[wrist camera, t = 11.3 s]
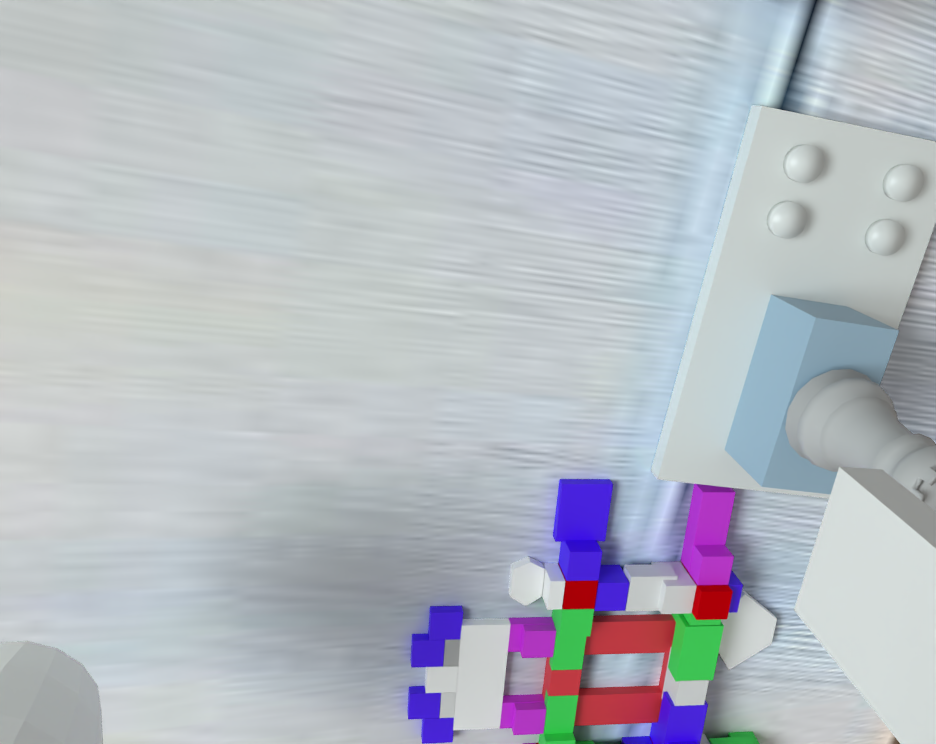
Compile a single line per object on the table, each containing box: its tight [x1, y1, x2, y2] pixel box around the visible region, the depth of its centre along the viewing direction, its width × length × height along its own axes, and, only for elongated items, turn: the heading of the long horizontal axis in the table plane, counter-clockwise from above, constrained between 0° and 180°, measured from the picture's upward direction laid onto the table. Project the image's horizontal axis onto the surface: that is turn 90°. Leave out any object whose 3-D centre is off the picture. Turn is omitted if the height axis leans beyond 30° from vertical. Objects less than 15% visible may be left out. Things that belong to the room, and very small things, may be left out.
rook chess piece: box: [785, 369, 936, 511], centre depth 33 cm, size 4×4×8 cm
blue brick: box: [724, 295, 899, 494], centre depth 39 cm, size 8×4×4 cm, turn 170°
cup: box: [0, 641, 103, 744], centre depth 30 cm, size 7×7×21 cm
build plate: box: [651, 105, 936, 499], centre depth 40 cm, size 18×10×2 cm, turn 169°
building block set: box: [408, 479, 777, 744], centre depth 45 cm, size 25×20×4 cm
